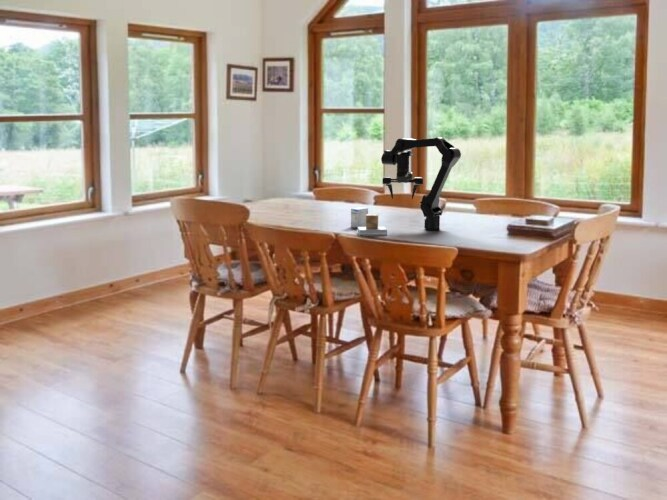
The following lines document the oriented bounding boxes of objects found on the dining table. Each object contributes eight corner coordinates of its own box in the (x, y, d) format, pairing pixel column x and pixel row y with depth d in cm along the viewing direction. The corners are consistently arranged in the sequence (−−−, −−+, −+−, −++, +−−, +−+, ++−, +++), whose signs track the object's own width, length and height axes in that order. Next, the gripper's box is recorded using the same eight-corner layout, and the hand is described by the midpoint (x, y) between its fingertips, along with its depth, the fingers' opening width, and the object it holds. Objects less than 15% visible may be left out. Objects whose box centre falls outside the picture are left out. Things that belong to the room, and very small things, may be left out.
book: (384, 233, 346) (384, 226, 345) (386, 236, 337) (386, 229, 336) (357, 233, 345) (357, 226, 344) (359, 236, 336) (359, 230, 336)
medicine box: (360, 225, 366) (360, 207, 364) (368, 226, 363) (368, 207, 361) (350, 227, 360) (350, 208, 358) (358, 228, 357) (358, 209, 355)
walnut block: (378, 227, 343) (378, 214, 342) (377, 229, 338) (377, 215, 337) (366, 227, 343) (367, 213, 342) (366, 228, 339) (366, 215, 337)
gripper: (382, 166, 349) (381, 200, 352) (423, 167, 348) (422, 201, 350) (383, 164, 360) (382, 198, 363) (423, 165, 358) (422, 198, 361)
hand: (402, 198), depth 359 cm, fingers open, 9 cm apart
